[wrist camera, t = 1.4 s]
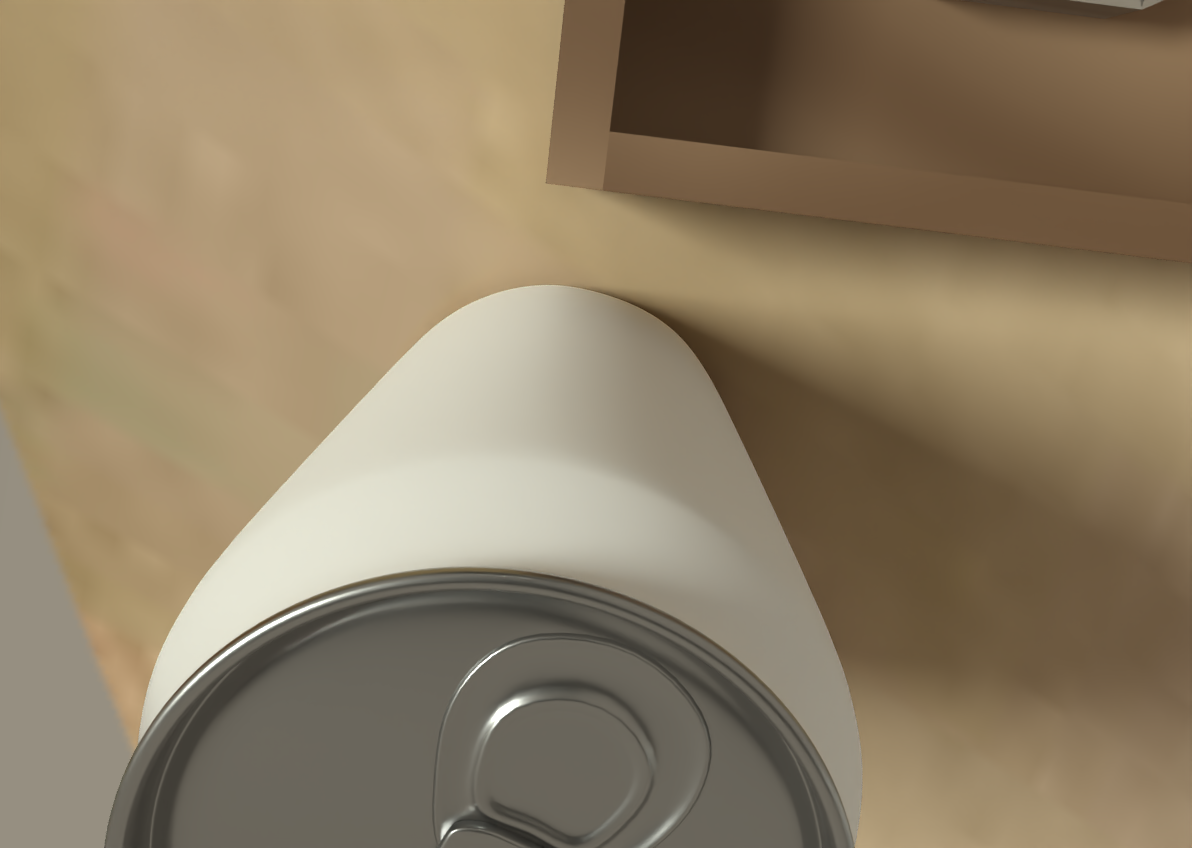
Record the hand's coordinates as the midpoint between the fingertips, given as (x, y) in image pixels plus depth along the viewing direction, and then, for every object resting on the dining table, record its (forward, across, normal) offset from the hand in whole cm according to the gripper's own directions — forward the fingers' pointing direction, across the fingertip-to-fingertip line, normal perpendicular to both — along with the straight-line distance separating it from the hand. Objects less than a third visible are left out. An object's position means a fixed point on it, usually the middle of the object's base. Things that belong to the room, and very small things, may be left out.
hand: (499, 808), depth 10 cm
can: (+10, 0, +1) cm, 10 cm away
